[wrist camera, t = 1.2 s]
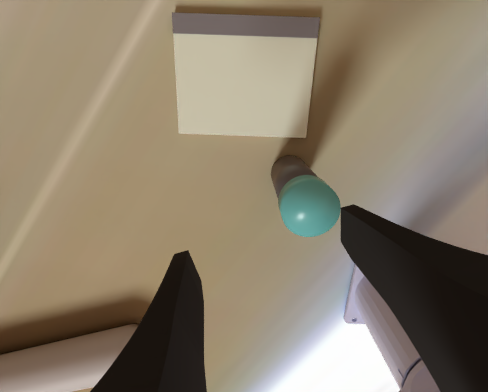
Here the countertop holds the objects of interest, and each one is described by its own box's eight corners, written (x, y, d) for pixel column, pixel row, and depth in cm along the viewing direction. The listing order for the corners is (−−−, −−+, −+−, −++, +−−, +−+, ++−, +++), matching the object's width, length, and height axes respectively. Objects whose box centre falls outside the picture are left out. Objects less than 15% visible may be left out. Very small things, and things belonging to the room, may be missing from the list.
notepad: (318, 19, 18) (319, 17, 17) (304, 137, 20) (306, 138, 20) (173, 15, 18) (171, 12, 17) (180, 132, 20) (178, 133, 20)
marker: (310, 154, 21) (345, 184, 13) (305, 191, 22) (335, 237, 15) (271, 153, 21) (284, 181, 13) (268, 190, 22) (279, 235, 15)
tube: (124, 336, 23) (-103, 388, 26) (140, 392, 23) (-88, 439, 26) (151, 308, 28) (-39, 353, 31) (164, 354, 28) (-27, 396, 31)
